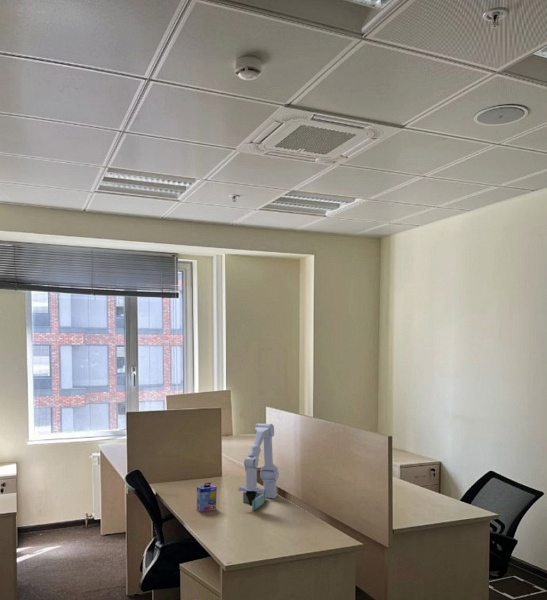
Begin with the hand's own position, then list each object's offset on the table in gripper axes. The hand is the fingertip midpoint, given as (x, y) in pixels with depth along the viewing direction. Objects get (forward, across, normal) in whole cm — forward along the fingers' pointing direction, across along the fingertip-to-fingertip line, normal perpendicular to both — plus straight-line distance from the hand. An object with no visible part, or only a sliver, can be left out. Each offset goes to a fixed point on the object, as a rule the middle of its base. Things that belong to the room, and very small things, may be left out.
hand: (251, 505), depth 316 cm
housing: (+2, -5, +16) cm, 17 cm away
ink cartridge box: (+2, -23, -8) cm, 24 cm away
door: (+2, +2, +6) cm, 6 cm away
